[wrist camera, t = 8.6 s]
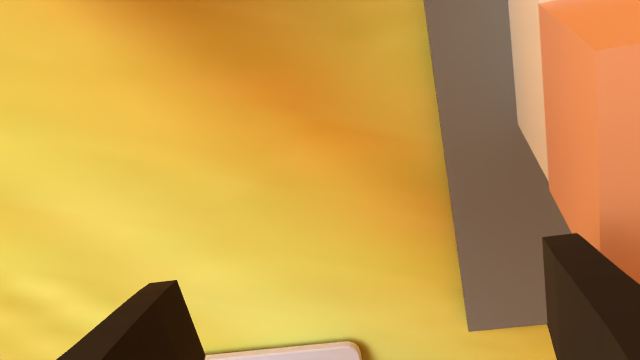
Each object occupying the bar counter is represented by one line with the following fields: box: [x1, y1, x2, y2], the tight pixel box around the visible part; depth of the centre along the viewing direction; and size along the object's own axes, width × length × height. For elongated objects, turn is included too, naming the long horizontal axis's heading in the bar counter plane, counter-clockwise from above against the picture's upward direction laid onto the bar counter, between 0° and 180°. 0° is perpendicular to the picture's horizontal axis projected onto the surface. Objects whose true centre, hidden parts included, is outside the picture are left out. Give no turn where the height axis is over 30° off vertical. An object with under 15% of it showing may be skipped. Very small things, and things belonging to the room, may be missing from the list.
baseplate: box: [424, 0, 572, 332], centre depth 21 cm, size 14×9×1 cm, turn 12°
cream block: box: [508, 0, 554, 182], centre depth 17 cm, size 5×4×4 cm
